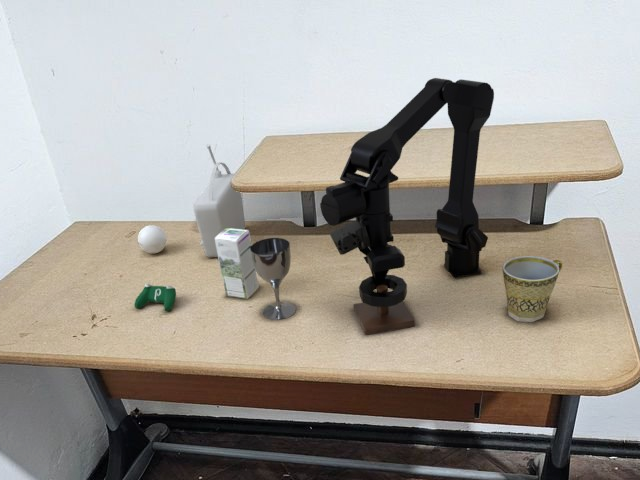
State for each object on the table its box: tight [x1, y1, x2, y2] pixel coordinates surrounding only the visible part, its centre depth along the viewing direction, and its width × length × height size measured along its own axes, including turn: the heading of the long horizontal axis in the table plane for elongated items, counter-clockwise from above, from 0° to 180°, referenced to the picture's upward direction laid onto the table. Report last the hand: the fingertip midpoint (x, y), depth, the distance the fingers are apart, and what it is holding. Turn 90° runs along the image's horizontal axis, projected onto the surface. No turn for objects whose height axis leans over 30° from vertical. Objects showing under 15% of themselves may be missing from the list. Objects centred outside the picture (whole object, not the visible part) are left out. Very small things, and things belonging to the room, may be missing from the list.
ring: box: [358, 274, 408, 307], centre depth 123 cm, size 9×9×2 cm
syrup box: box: [215, 228, 260, 300], centre depth 138 cm, size 6×6×14 cm
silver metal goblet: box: [250, 237, 297, 321], centre depth 129 cm, size 8×8×15 cm
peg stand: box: [352, 285, 416, 336], centre depth 125 cm, size 10×10×7 cm
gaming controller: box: [134, 283, 177, 312], centre depth 141 cm, size 9×4×6 cm
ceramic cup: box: [502, 255, 563, 323], centre depth 120 cm, size 13×10×10 cm
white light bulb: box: [127, 224, 168, 254], centre depth 164 cm, size 10×7×7 cm
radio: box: [193, 143, 246, 258], centre depth 159 cm, size 22×8×25 cm, turn 172°
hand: (377, 282), depth 126 cm, fingers closed on ring, 2 cm apart
